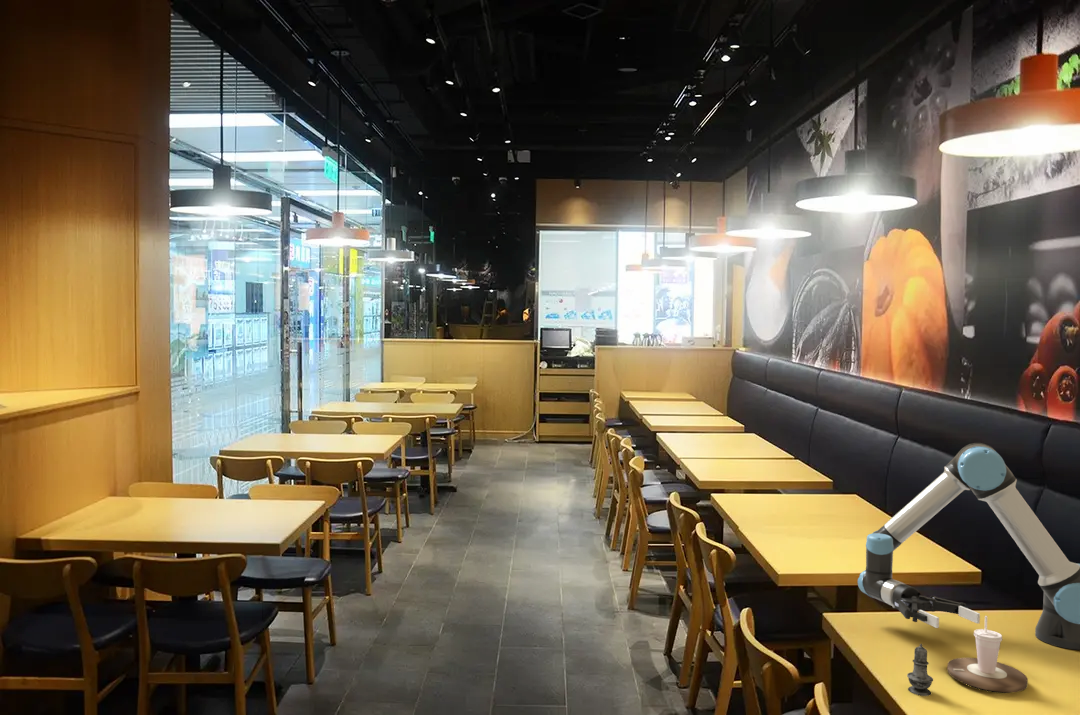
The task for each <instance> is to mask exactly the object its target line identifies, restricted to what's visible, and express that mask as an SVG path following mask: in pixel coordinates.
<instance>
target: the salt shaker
mask: <svg viewBox="0 0 1080 715" xmlns="http://www.w3.org/2000/svg"><path fill="white" fill-rule="evenodd" d="M923 646H924V645H923V644H922V643H919V646H917V647H915V648H914V651H913V652H914V655H913V656H914V657H913V658H914V659H912V662H913V670H912V672H908V673H907V675H906V676H907V678H908V682H909V684H910V685H911V686H909V687H907V691H908V692H909V693H911V694H913V695H916V696H919V695H920V696H921V697H928V696H929V695H930V696H931V695H932V694H931V693H932V691H931V690H930V689H929V688H930V687H931V686H932V684H933V681H934V678H933V677H932V676H931V675H929V674H928V665H929V664H930V663H929V662H928V650H927V648H925V647H923ZM930 696H929V697H930Z"/></svg>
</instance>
